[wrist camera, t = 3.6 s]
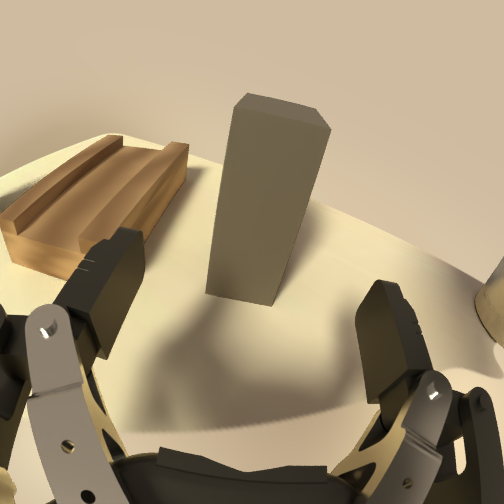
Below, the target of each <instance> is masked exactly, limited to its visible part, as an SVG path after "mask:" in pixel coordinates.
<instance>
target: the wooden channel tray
mask: <svg viewBox="0 0 504 504" xmlns="http://www.w3.org/2000/svg"><path fill="white" fill-rule="evenodd" d="M188 151H189V144H185V143H178V142H171V143H170V144H168V145H167V146H166V147H165V148H164V149H163V150H154V149H147V148H138V147H130V146H123V136H117V135H107V136H106V137H104V138H102V139H101V140H99V141H97V142H96V143H94V144H92V145H91V146H89V147H88V148H86V149H85V150H83V151H81V152H80V153H78V154H77V155H75V156H74V157H72V158H71V159H69V160H68V161H67V162H65V163H64V164H62V165H61V166H59V167H58V168H57V169H55V170H54V171H53V172H51V173H50V174H48V175H47V176H46V177H44V178H43V179H42V180H40V181H39V182H38V183H37V184H35V185H34V186H33V187H32V188H30V189H29V190H28V191H27V192H25V193H24V194H23V195H22V196H21V197H19V198H18V199H17V200H16V201H15V202H13V203H12V204H11V205H10V206H9V207H8V208H7V209H5V210H4V211H3V212H2V213H1V214H0V228H1V231H2V234H3V237H4V240H5V243H6V246H7V249H8V252H9V255H10V257H11V260H12V262H14V263H16V264H19V265H22V266H25V267H27V268H30V269H33V270H36V271H39V272H42V273H45V274H48V275H51V276H54V277H57V278H60V279H63V280H66V281H68V279H69V278H70V276H71V275H72V273H73V272H74V271H75V269H77V266H78V265H79V264H80V262H81V261H82V260H84V257H85V255H86V254H87V253H88V251H89V250H90V248H91V247H92V246H94V245H95V244H97V243H98V242H100V241H101V240H103V239H108V240H110V239H111V238H112V236H113V235H114V234H115V232H116V231H117V229H118V228H119V227H126V228H131V229H136V230H140V231H142V232H143V238H144V243H145V241H146V239H147V238H148V236H149V234H150V233H151V231H152V230H153V228H154V226H155V225H156V223H157V222H158V220H159V218H160V217H161V215H162V214H163V212H164V211H165V209H166V208H167V206H168V204H169V203H170V201H171V200H172V198H173V197H174V195H175V194H176V192H177V191H178V189H179V188H180V187H181V185H182V184H183V182H184V181H185V179H186V170H187V161H188Z"/></svg>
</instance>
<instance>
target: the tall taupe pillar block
mask: <svg viewBox="0 0 504 504" xmlns="http://www.w3.org/2000/svg"><path fill="white" fill-rule="evenodd" d="M330 133H331V129H330V127H329V126H328V124H327V123H326V122H325V120H324V119H323V118H322V117H321V115H320V114H319V113H318V111H317V110H316V109H314V108H311V107H307V106H303V105H300V104H296V103H292V102H287V101H283V100H279V99H274V98H270V97H265V96H259V95H254V94H250V93H247V94H246V95H245V96H244V97H243V98H242V99H241V100H240V101H239V102H238V103H237V105H235V107H234V110H233V116H232V121H231V126H230V132H229V138H228V142H227V147H226V153H225V159H224V165H223V171H222V177H221V183H220V189H219V196H218V202H217V209H216V215H215V222H214V229H213V236H212V244H211V251H210V260H209V268H208V275H207V283H206V292H205V294H210V295H215V296H220V297H225V298H230V299H234V300H240V301H245V302H250V303H255V304H260V305H266V306H272V304H273V301H274V298H275V296H276V293H277V290H278V287H279V285H280V282H281V279H282V276H283V274H284V271H285V268H286V265H287V262H288V260H289V257H290V254H291V251H292V248H293V245H294V243H295V240H296V237H297V234H298V231H299V228H300V225H301V222H302V219H303V216H304V213H305V210H306V207H307V204H308V201H309V198H310V195H311V192H312V189H313V186H314V183H315V180H316V177H317V174H318V171H319V168H320V165H321V161H322V158H323V155H324V152H325V149H326V146H327V142H328V139H329V136H330Z"/></svg>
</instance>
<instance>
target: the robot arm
mask: <svg viewBox="0 0 504 504" xmlns="http://www.w3.org/2000/svg"><path fill="white" fill-rule="evenodd" d="M144 272H145V258H144V238H143V232H142V231H140V230H136V229H131V228H126V227H119V228H118V229H117V231H116V232H115V234H114V235H113V236H112V238H111V239H110V240H108V239H103V240H101V241H100V242H98V243H97V244H95V245H94V246H92V247H91V248H90V250H89V251H88V253H87V254H86V255H85V257H84V260H82V261H81V262H80V264H79V265H78V266H77V269H75V271H74V272H73V273H72V275H71V276H70V278H69V279H68V281H67V282H66V284H65V285H64V287H63V288H62V290H61V291H60V293H59V294H58V296H57V297H56V299H55V301H54V302H53V303H52V304H46V305H42V306H40V307H38V308H36V309H35V310H34V311H33V312H31V314H30V315H29V316H24V315H7V314H6V312H5V310H4V308H3V307H2V305H1V304H0V504H15V501H14V495H15V494H16V486H15V484H14V482H12V479H11V477H10V475H9V474H8V472H7V470H8V465H9V461H10V457H11V452H12V448H13V445H14V441H15V437H16V434H17V430H18V427H19V424H20V420H21V417H22V414H23V411H24V408H25V405H26V402H27V409H28V415H29V419H30V423H31V427H32V432H33V435H34V439H35V443H36V446H37V450H38V453H39V456H40V459H41V462H42V465H43V468H44V471H45V474H46V477H47V480H48V482H49V485H50V487H51V490H52V492H53V495H54V497H55V499H54V500H52V501H50V502H48V503H46V504H504V465H503V457H502V449H501V443H500V437H499V431H498V426H497V421H496V417H495V412H494V407H493V403H492V400H491V397H490V396H489V394H488V393H487V391H486V390H484V389H483V388H481V387H475V388H473V389H472V390H471V391H469V392H468V393H467V394H463V393H461V392H458V391H455V390H452V387H451V385H450V383H449V381H448V379H447V378H446V377H445V376H444V375H443V374H442V373H440V372H438V371H435V370H433V367H432V363H431V360H430V356H429V353H428V350H427V347H426V344H425V340H424V337H423V335H421V333H422V331H421V328H420V326H419V325H418V320H417V317H416V314H415V312H414V310H413V308H412V307H411V306H410V304H409V303H408V301H407V300H406V299H404V298H403V295H402V292H401V290H400V287H399V285H398V284H397V283H394V282H389V281H384V280H376V281H375V282H374V284H373V285H372V287H371V288H370V290H369V292H368V293H367V295H366V296H365V298H364V300H363V301H362V303H361V304H360V306H359V308H358V310H357V312H356V316H355V327H356V332H357V337H358V343H359V349H360V355H361V361H362V367H363V374H364V380H365V388H366V395H367V403H368V404H380V410H378V411H377V412H376V414H375V415H374V417H373V419H372V421H371V422H370V424H369V426H368V427H367V429H366V431H365V432H364V434H363V435H362V437H361V438H360V440H359V441H358V443H357V444H356V446H355V448H354V449H353V451H352V452H351V453H350V454H349V455H348V456H347V457H346V458H345V459H344V460H342V461H341V462H340V463H339V464H338V465H337V466H336V467H335V468H334V470H333V471H332V472H331V473H330V474H329V473H327V466H285V467H279V468H273V469H267V470H261V471H254V472H242V471H239V470H236V469H233V468H230V467H228V466H225V465H223V464H220V463H218V462H215V461H212V460H210V459H208V458H205V457H203V456H199V455H194V454H189V453H184V452H180V451H175V450H171V449H167V448H163V447H160V448H159V453H142V454H137V455H132V456H128V454H127V452H126V450H125V448H124V446H123V443H122V441H121V439H120V437H119V435H118V433H117V431H116V429H115V427H114V425H113V423H112V421H111V419H110V417H109V414H108V411H107V409H106V406H105V403H104V401H103V398H102V395H101V392H100V389H99V386H98V383H97V380H96V377H95V373H94V370H93V367H92V366H93V363H94V361H95V359H96V357H99V358H102V359H105V360H107V359H108V357H109V354H110V352H111V349H112V347H113V345H114V342H115V340H116V338H117V335H118V333H119V331H120V329H121V326H122V324H123V322H124V320H125V317H126V315H127V313H128V311H129V309H130V306H131V304H132V302H133V300H134V298H135V296H136V294H137V292H138V290H139V287H140V285H141V283H142V281H143V277H144ZM475 305H476V309H477V312H478V315H479V317H480V319H481V321H482V323H483V325H484V326H485V328H486V329H487V331H488V332H489V333H490V335H491V336H492V337H493V338H494V339H495V340H496V341H497V343H498V344H500V345H501V346H502V347H503V348H504V257H503V259H502V260H501V262H500V263H499V265H498V266H497V268H496V269H495V270H494V272H493V273H492V275H491V276H490V278H489V279H488V280H487V282H486V283H485V285H484V286H483V287H482V289H481V290H480V291H479V293H478V294H477V295H476V298H475ZM31 388H32V391H33V392H32V396H29V394H30V391H31ZM462 436H463V439H464V446H465V454H466V467H465V470H464V471H463V473H461V474H460V475H458V474H457V470H456V459H455V450H454V441H455V440H457V439H459V438H460V437H462Z"/></svg>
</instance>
